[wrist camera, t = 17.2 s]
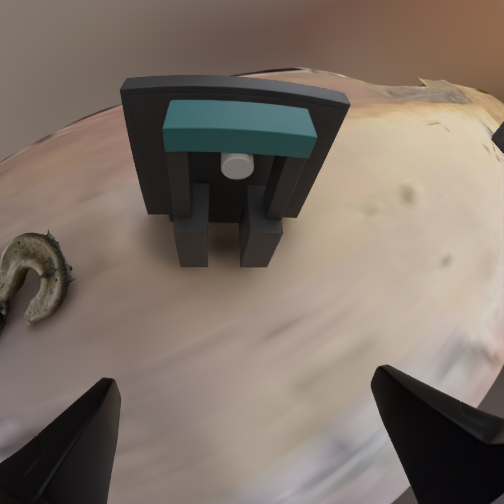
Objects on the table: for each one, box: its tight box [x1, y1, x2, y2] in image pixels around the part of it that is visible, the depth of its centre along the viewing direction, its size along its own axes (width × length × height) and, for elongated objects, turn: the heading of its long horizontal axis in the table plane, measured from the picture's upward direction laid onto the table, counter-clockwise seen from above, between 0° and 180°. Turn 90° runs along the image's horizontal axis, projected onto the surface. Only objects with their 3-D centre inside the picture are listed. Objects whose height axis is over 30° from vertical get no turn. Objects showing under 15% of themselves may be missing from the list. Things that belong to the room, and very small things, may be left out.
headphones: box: [162, 100, 317, 267], centre depth 18 cm, size 4×7×13 cm, turn 94°
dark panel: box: [120, 75, 350, 223], centre depth 21 cm, size 13×14×14 cm
